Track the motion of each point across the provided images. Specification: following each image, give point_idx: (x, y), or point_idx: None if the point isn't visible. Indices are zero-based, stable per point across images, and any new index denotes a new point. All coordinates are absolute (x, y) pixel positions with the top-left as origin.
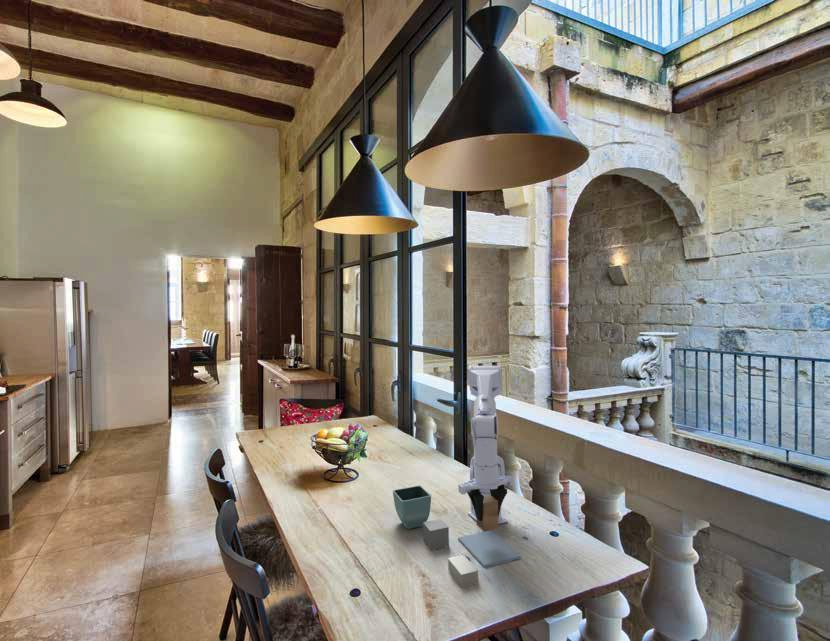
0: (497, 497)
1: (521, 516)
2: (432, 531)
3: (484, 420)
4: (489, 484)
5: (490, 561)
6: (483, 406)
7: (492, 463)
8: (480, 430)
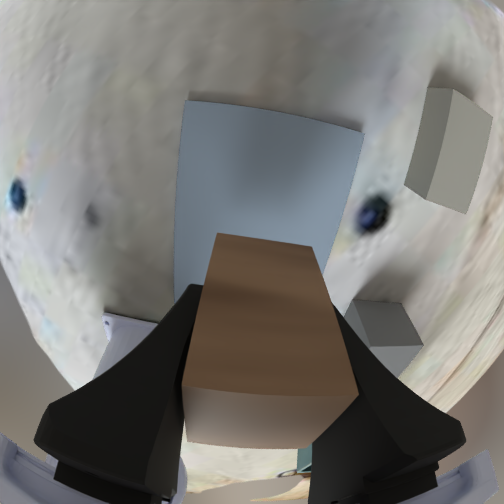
0: (170, 414)
1: (61, 310)
2: (417, 342)
3: None
4: None
5: (328, 136)
6: None
7: None
8: None
